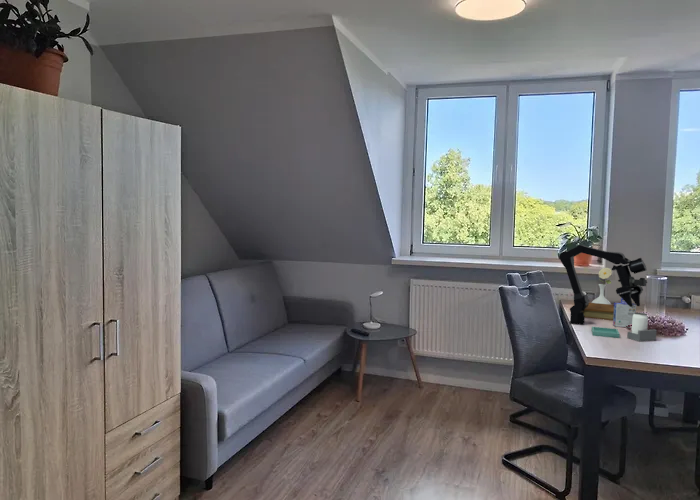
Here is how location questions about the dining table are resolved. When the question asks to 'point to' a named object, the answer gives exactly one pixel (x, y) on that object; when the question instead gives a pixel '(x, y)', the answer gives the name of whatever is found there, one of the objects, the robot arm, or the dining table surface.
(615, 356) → the dining table surface
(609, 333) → the tray
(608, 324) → the dining table surface
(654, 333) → the bay
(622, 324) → the ink cartridge box
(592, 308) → the diary
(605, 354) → the dining table surface
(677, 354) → the dining table surface
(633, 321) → the can
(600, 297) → the flower in vase
